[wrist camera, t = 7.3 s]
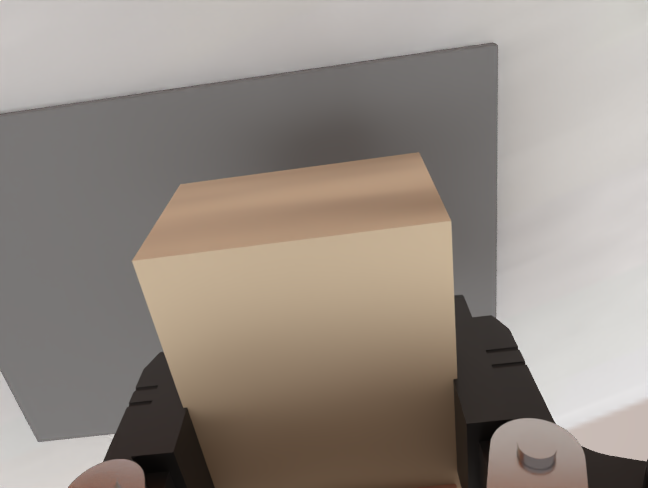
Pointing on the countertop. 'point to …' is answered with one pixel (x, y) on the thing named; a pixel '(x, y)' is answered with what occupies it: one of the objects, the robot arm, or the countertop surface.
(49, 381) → the mat
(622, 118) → the countertop surface
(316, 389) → the beige rectangular block
